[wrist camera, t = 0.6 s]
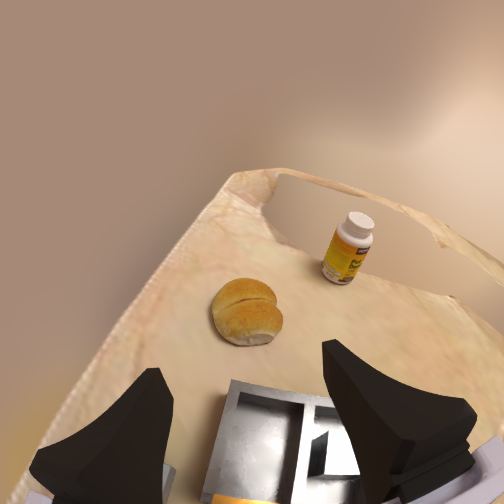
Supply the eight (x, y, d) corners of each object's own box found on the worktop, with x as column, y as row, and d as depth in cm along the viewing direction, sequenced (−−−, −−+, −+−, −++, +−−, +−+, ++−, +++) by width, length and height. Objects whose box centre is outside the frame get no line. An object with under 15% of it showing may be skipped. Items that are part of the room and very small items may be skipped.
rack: (410, 507, 16) (446, 500, 13) (199, 501, 17) (198, 504, 13) (410, 416, 26) (442, 395, 22) (227, 393, 26) (233, 370, 23)
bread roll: (268, 287, 39) (274, 266, 36) (285, 343, 33) (295, 325, 30) (207, 290, 37) (209, 268, 34) (216, 350, 30) (218, 331, 28)
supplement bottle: (340, 291, 40) (367, 236, 34) (313, 268, 43) (334, 213, 36) (359, 276, 43) (385, 225, 37) (334, 256, 46) (355, 204, 40)
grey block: (165, 504, 16) (158, 507, 13) (119, 487, 16) (102, 485, 13) (176, 469, 19) (170, 465, 16) (130, 453, 20) (117, 444, 16)
